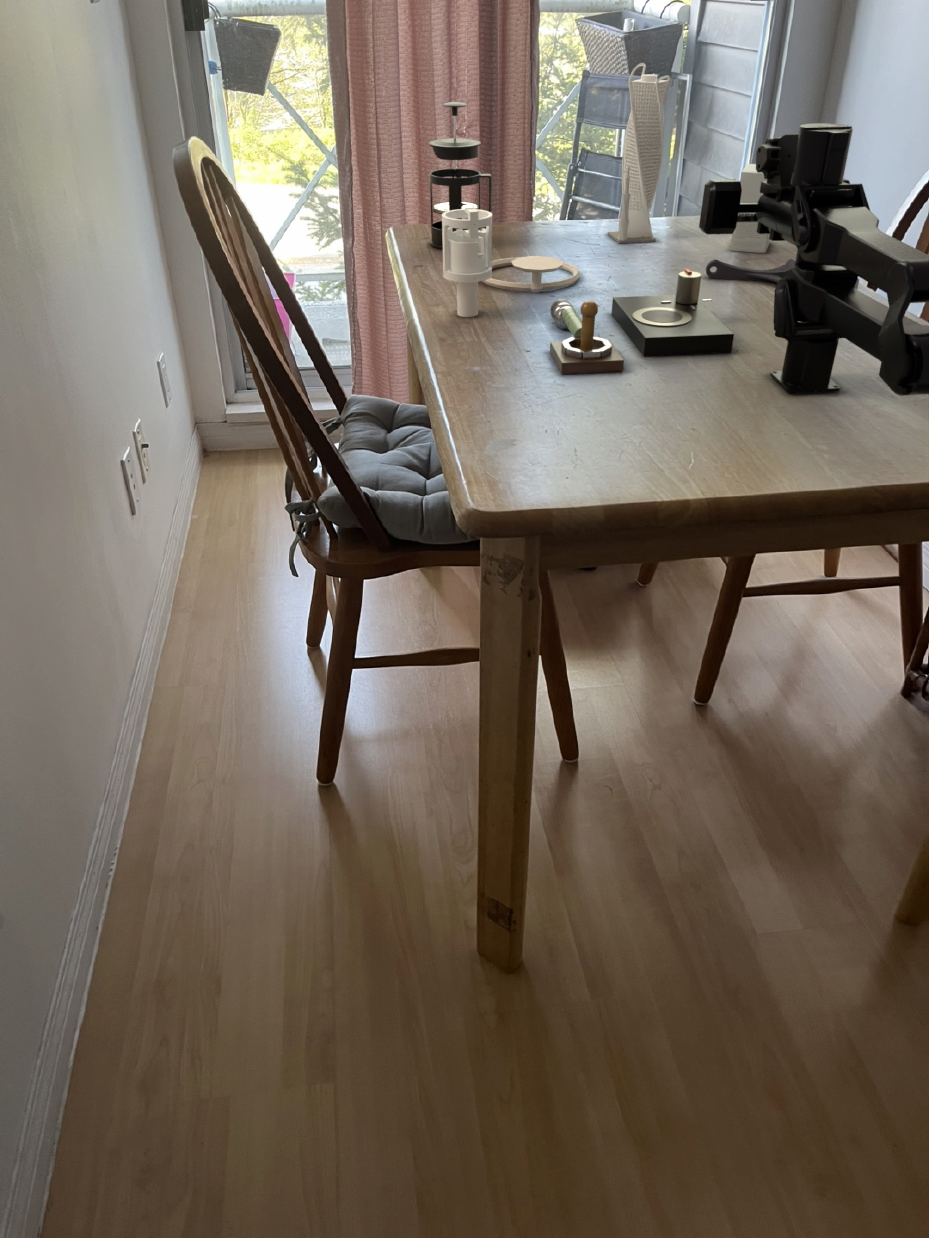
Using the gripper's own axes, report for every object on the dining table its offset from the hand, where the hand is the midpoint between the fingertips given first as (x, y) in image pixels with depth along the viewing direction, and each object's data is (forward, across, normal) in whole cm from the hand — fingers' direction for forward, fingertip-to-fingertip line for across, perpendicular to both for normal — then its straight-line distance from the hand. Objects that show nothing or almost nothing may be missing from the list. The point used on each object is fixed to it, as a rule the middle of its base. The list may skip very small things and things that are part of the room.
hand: (750, 194), depth 127 cm
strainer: (+9, +37, +18) cm, 42 cm away
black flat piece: (+20, -11, +16) cm, 28 cm away
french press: (+50, +33, +16) cm, 62 cm away
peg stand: (-14, +24, +18) cm, 33 cm away
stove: (-4, +10, +17) cm, 20 cm away
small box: (+40, -18, +16) cm, 47 cm away
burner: (-5, +12, +15) cm, 20 cm away
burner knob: (+2, +6, +14) cm, 16 cm away
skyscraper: (+50, 0, +16) cm, 53 cm away
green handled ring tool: (-6, +24, +17) cm, 31 cm away
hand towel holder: (+24, +25, +17) cm, 39 cm away
